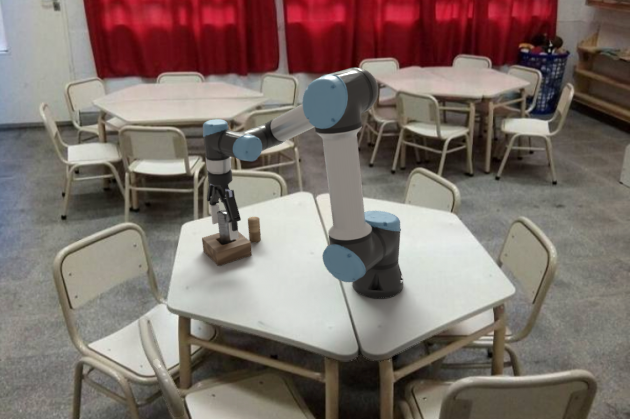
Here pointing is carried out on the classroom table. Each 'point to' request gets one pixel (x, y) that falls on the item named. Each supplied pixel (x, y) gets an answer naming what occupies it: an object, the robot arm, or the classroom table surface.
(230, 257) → the socket block
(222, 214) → the metal pin
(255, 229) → the oak dowel
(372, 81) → the robot arm
